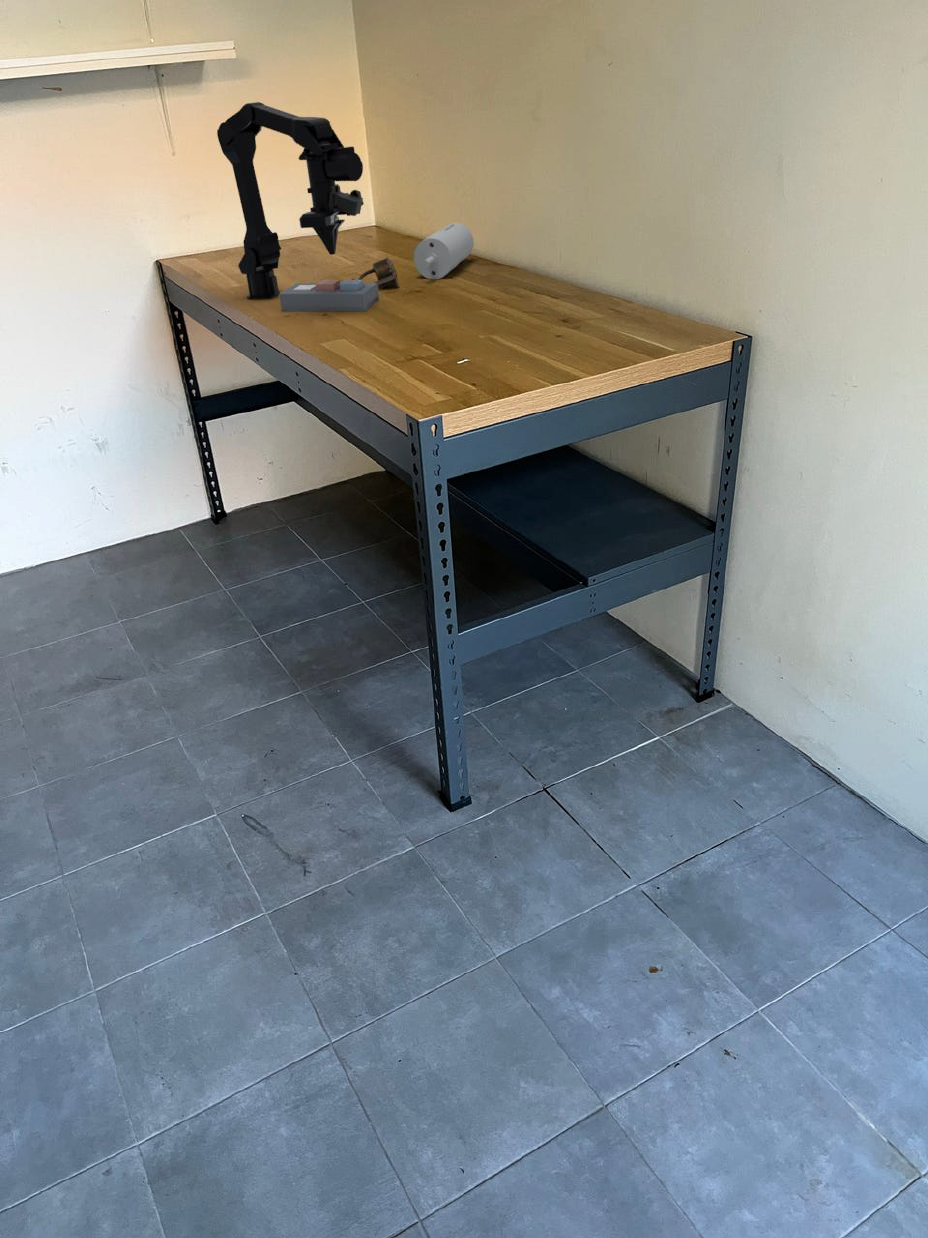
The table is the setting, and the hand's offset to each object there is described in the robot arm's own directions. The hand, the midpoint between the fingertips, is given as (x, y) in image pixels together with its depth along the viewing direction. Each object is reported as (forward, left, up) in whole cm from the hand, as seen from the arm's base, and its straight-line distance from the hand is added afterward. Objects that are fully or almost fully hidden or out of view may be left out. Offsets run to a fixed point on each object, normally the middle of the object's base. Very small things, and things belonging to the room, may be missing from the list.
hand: (332, 254), depth 219 cm
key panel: (-2, 0, -12) cm, 12 cm away
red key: (-2, 0, -9) cm, 10 cm away
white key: (-8, 0, -11) cm, 13 cm away
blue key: (+4, 0, -9) cm, 10 cm away
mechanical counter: (+3, +19, -12) cm, 23 cm away
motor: (+17, +40, -12) cm, 45 cm away
